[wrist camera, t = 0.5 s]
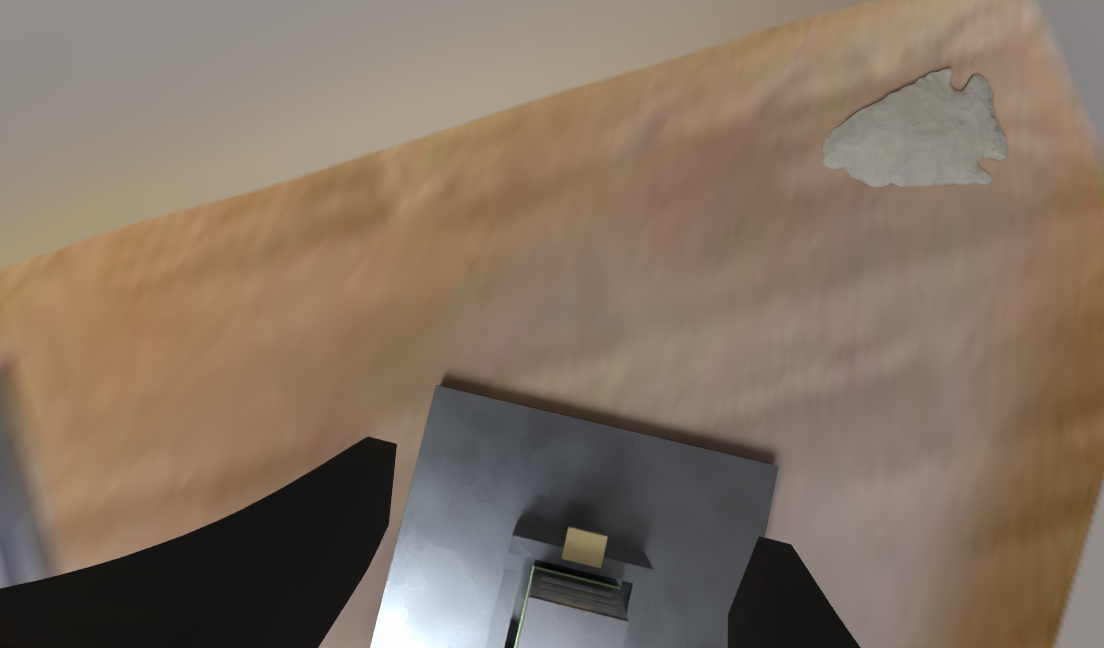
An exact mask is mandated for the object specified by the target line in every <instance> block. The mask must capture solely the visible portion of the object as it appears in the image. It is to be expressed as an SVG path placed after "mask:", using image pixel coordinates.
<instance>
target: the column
mask: <svg viewBox="0 0 1104 648" xmlns="http://www.w3.org/2000/svg"><path fill="white" fill-rule="evenodd" d="M619 589H620V586H619V584H618V583H617V581H616V579H613V578H609V577H605V576H601V575H597V574H592V573H588V572H584V571H580V570H576V569H572V568H568V567H564V566H560V565H556V564H552V563H548V562H544V561H540V560H536V559H535V561H534V563H533V568H532V572H531V576H530V581H529V585H528V589H527V594H526V598H525V602H524V607H523V611H522V615H521V620H520V624H519V628H518V633H517V637H516V641H515V646H514V648H623V646H624V641H625V636H626V632H627V627H628V622H629V621H628V618H627V615H626V611H625V608H624V605H623V601H622V598H621V594H620V591H619Z"/></svg>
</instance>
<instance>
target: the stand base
mask: <svg viewBox="0 0 1104 648" xmlns="http://www.w3.org/2000/svg"><path fill="white" fill-rule="evenodd" d="M777 470H778V466H776V465H773V464H769V463H765V462H760V461H756V460H752V459H748V458H743V457H739V456H735V455H731V454H727V453H722V452H718V451H714V450H710V449H705V448H701V447H697V446H693V445H689V444H684V443H680V442H676V441H672V440H667V439H663V438H659V437H655V436H651V435H646V434H642V433H638V432H634V431H629V430H625V429H621V428H617V427H613V426H608V425H604V424H600V423H596V422H591V421H587V420H583V419H579V418H575V417H570V416H566V415H562V414H558V413H553V412H549V411H545V410H541V409H537V408H532V407H528V406H524V405H520V404H515V403H511V402H507V401H503V400H499V399H494V398H490V397H486V396H482V395H477V394H473V393H469V392H465V391H461V390H456V389H452V388H448V387H444V386H439V385H436V388H435V392H434V396H433V400H432V404H431V408H430V412H429V416H428V420H427V424H426V428H425V432H424V436H423V440H422V444H421V448H420V452H419V456H418V460H417V464H416V467H415V471H414V475H413V479H412V483H411V487H410V491H409V495H408V499H407V503H406V507H405V511H404V515H403V519H402V523H401V527H400V531H399V535H398V539H397V543H396V547H395V551H394V555H393V559H392V563H391V567H390V571H389V575H388V579H387V583H386V587H385V591H384V595H383V599H382V603H381V607H380V611H379V615H378V619H377V623H376V626H375V630H374V634H373V638H372V642H371V646H370V648H514V646H515V641H516V637H517V633H518V628H519V624H520V620H521V615H522V611H523V607H524V602H525V598H526V594H527V589H528V585H529V581H530V576H531V572H532V568H533V563H534V561H535V559H536V560H540V561H544V562H548V563H552V564H556V565H560V566H564V567H568V568H572V569H576V570H580V571H584V572H588V573H592V574H597V575H601V576H605V577H609V578H613V579H616V581H617V583H618V584H619V586H620V589H619V591H620V594H621V598H622V601H623V605H624V608H625V611H626V615H627V618H628V621H629V622H628V627H627V632H626V636H625V641H624V646H623V648H728V613H729V610H730V608H731V605H732V603H733V600H734V598H735V595H736V593H737V590H738V588H739V585H740V583H741V580H742V578H743V575H744V572H745V570H746V567H747V565H748V562H749V560H750V557H751V555H752V552H753V550H754V547H755V545H756V542H757V540H758V537H759V536H760V537H765V532H766V526H767V521H768V516H769V511H770V506H771V501H772V496H773V491H774V486H775V480H776V475H777Z"/></svg>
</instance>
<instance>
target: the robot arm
mask: <svg viewBox="0 0 1104 648" xmlns="http://www.w3.org/2000/svg"><path fill="white" fill-rule="evenodd" d="M396 448H397V444H395V443H391V442H387V441H383V440H379V439H375V438H371V437H366V438H365V439H363V440H361V441H360V442H358V443H356V444H354V445H353V446H351V447H349V448H348V449H346V450H345V451H343V452H341V453H340V454H338V455H337V456H335V457H333V458H332V459H330V460H329V461H327V462H325V463H324V464H322V465H320V466H319V467H317V468H316V469H314V470H312V471H311V472H309V473H307V474H305V475H304V476H302V477H300V478H299V479H297V480H295V481H293V482H292V483H290V484H288V485H287V486H285V487H283V488H281V489H280V490H278V491H276V492H274V493H272V494H270V495H268V496H267V497H265V498H263V499H261V500H259V501H257V502H255V503H253V504H251V505H249V506H248V507H246V508H244V509H242V510H240V511H238V512H236V513H234V514H231V515H229V516H227V517H225V518H223V519H221V520H218V521H216V522H214V523H212V524H209V525H207V526H204V527H202V528H200V529H197V530H195V531H193V532H190V533H188V534H185V535H183V536H180V537H178V538H175V539H172V540H169V541H167V542H164V543H161V544H158V545H155V546H152V547H150V548H147V549H144V550H141V551H138V552H136V553H133V554H130V555H127V556H124V557H121V558H118V559H115V560H111V561H108V562H105V563H101V564H98V565H95V566H91V567H88V568H84V569H80V570H77V571H73V572H69V573H65V574H62V575H58V576H54V577H50V578H46V579H42V580H38V581H33V582H29V583H24V584H19V585H15V586H10V587H5V588H1V589H0V648H318V647H319V645H320V644H321V642H322V641H323V639H324V638H325V636H326V634H327V633H328V631H329V630H330V628H331V627H332V625H333V623H334V622H335V620H336V619H337V617H338V616H339V614H340V612H341V611H342V609H343V608H344V606H345V605H346V603H347V601H348V600H349V598H350V597H351V595H352V594H353V592H354V590H355V589H356V587H357V586H358V584H359V582H360V581H361V579H362V578H363V576H364V574H365V573H366V571H367V569H368V567H369V565H370V563H371V561H372V559H373V557H374V555H375V553H376V551H377V549H378V547H379V545H380V542H381V540H382V538H383V536H384V534H385V532H386V529H387V527H388V525H389V517H390V507H391V497H392V487H393V477H394V468H395V458H396ZM728 648H860V646H859V645H858V644H857V642H856V641H855V639H854V638H853V637H852V635H851V634H850V632H849V631H848V630H847V628H846V627H845V625H844V624H843V622H842V621H841V619H840V618H839V616H838V615H837V614H836V612H835V611H834V609H833V608H832V606H831V605H830V603H829V602H828V600H827V599H826V597H825V596H824V594H823V592H822V591H821V589H820V588H819V586H818V585H817V583H816V582H815V580H814V579H813V577H812V576H811V574H810V572H809V571H808V569H807V568H806V566H805V565H804V563H803V562H802V560H801V559H800V557H799V556H798V554H797V552H796V551H795V550H794V548H793V547H792V545H791V544H787V543H783V542H779V541H776V540H772V539H768V538H764V537H760V536H759V537H758V540H757V542H756V545H755V547H754V550H753V552H752V555H751V557H750V560H749V562H748V565H747V567H746V570H745V572H744V575H743V578H742V580H741V583H740V585H739V588H738V590H737V593H736V595H735V598H734V600H733V603H732V605H731V608H730V610H729V613H728Z"/></svg>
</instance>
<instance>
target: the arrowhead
mask: <svg viewBox="0 0 1104 648" xmlns="http://www.w3.org/2000/svg"><path fill="white" fill-rule="evenodd" d="M951 75H952V70H951V69H942V70H941V71H940V72H932V73H929V74H928V75H927V76H926V77H922V78H919V79H918V81H917V82H916V83H915V84H911V85H908V86H905V87H903V88H901V90H900V91H897V92H893V93H890V94H888V95H887V96H886V97H885V98H884V99H883V100H881V101H879V102H876V103H874V104H872V105H871V106H869V107H866V108H864V109H861V110H859V111H858V112H856V114H854V115H853V116H851V117H850V118H848V119H847V120H846V121H845V122H844V123H843V124H841V125H840V126H838V127H836V128H835V129H834V130H832V132H831V134H830V135H829V136H828V137H826V139H825V142H824V144H823V151H822V156H823V163H824V165H825V166H827V167H829V168H832V169H834V170H838V169H841V168H843V169H844V170H845V171H847V172H848V173H849V174H850V176H851V177H853V178H855V179H857V180H861V181H863V182H865V183H866V184H868V185H870V186H873V187H882V186H888V185H889V184H890V183H892V184H895V185H897V186H899V187H906V186H934V185H938V186H944V185H951V184H957V185H964V184H970V183H978V184H982V185H985V184H989V183H990V181H991V180H992V177H991V175H990V174H989V173H987V172H986V171H985V170H984V169H982V168H981V167H980V165H979V160H980V159H981V158H991V159H995V160H1003V159H1006V157H1007V153H1008V150H1007V144H1006V137H1005V135H1004V133H1003V131H1002V130H1001V128H1000V126H999V125H998V120H997V118H996V117H995V111H994V108H993V94H992V92H991V90H990V88H989V85H988V83H987V82H986V81H985V80H984V79H983V78H982V77H981V76H976V75H974V76H973V77H972V78H971V79H970V80H969V82H968V84H967V86H966V87H965V88H964V89H963V90H962V91H955V90H954V89H953V88H952V87H951V85H950V80H951ZM937 90H938V91H937Z"/></svg>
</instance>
